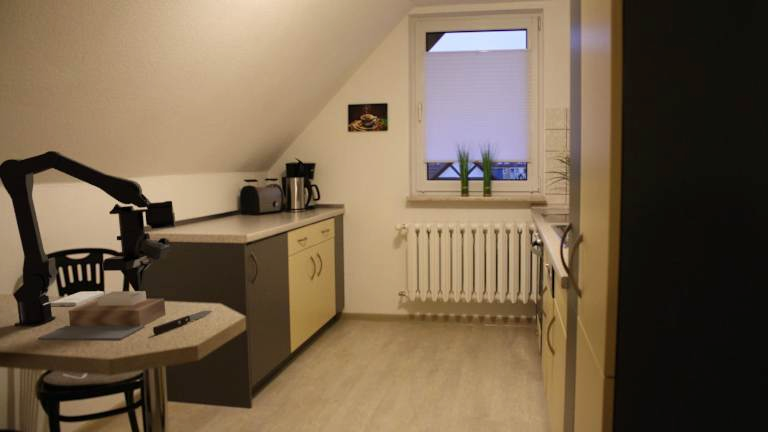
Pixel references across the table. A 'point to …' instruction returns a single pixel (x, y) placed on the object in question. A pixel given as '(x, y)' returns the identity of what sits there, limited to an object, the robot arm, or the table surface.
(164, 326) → the kitchen knife
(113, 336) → the mat
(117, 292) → the tile
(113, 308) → the brown wooden block
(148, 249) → the robot arm
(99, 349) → the table surface
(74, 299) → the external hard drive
